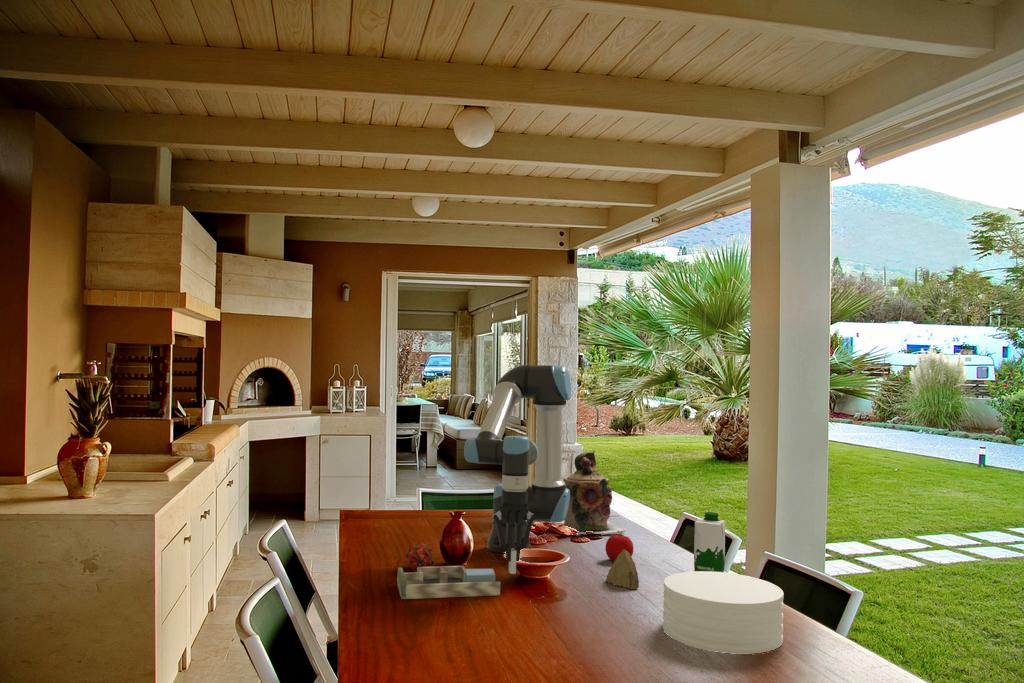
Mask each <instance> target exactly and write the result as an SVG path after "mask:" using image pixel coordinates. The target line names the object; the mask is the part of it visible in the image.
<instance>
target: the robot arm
mask: <svg viewBox="0 0 1024 683" xmlns="http://www.w3.org/2000/svg"><path fill="white" fill-rule="evenodd" d="M493 394H494V397H493V399H492V401H491V404H490V406H489V407H488V410H487V413H486V415H485V417H484V420H483V422H482V425H481V427H480V428H479V431H478V433H477V436H476V437H470V438H467V439H466V441H465V443H464V446H463V454H464V455H463V456H464V459H465V461H466V462H468V463H473V464H485V465H502V474H501V476H502V477H501V478H502V479H501V483H498V484H496V485H495V487H494V489H493V497H492V500H493V501H492V504H493V505H492V514H491V517H492V528H491V531H490V533H489V536H488V539H487V541H486V542H487V543H486V549H487V548H488V549H489V550H488V549H487V550H488V551H490V550H492V551H491V552H493V551H495V552H494V553H498V552H501V553H500V554H504V553H503V552H505V551H506V553H505V561H506V562H508V573H509V574H511V575H515V574H516V573H517V562H519V561H520V556H521V555H520V554H521V553H520V550H521V549H523V548H530V549H531V542H530V535H531V534H530V533H531V529H532V526H533V523H534V522H535V521H536V522H545V523H546V522H547V523H549V522H550V523H552V522H562V521H564V519H565V517H566V515H567V511H568V507H569V501H570V490H569V489H567V488H566V489H565V486H566V485H565V482H564V481H563V479H562V423H563V422H562V420H563V418H562V417H563V416H562V415H563V414H562V412H563V411H562V410H563V409H564V408H565V407H566V406H567V401H570V400H571V397H572V383H571V376H570V372H569V371H568V369H567V368H566V367H565V366H562V365H554V364H553V365H549V364H548V365H544V364H543V365H541V364H538V365H536V364H535V365H533V364H532V365H531V364H522V365H518V366H515V367H513V368H512V369H510V370H508V371H507V372H505V374H504V375H502V376H501V377H500V378H499V380H498V381H497V383H496V385H495V387H494V390H493ZM522 399H529V400H530V399H531V400H532V406H533V407H535V409H536V443H535V442H534V441H532V440H530V438H529V437H528V436H524V435H506V436H504V434H505V431H506V429H507V427H508V424H509V421H510V419H511V416H512V414H513V412H514V408H515V406H516V404H519V402H520V401H521V400H522ZM503 436H504V437H503ZM535 462H536V463H535ZM534 463H535V464H536V465H535V466H536V467H535V468H536V470H535V472H536V474H535V478H534V479H533V480H532V482H531V486H529V466H531V465H533V464H534ZM550 523H549V524H550Z"/></svg>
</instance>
